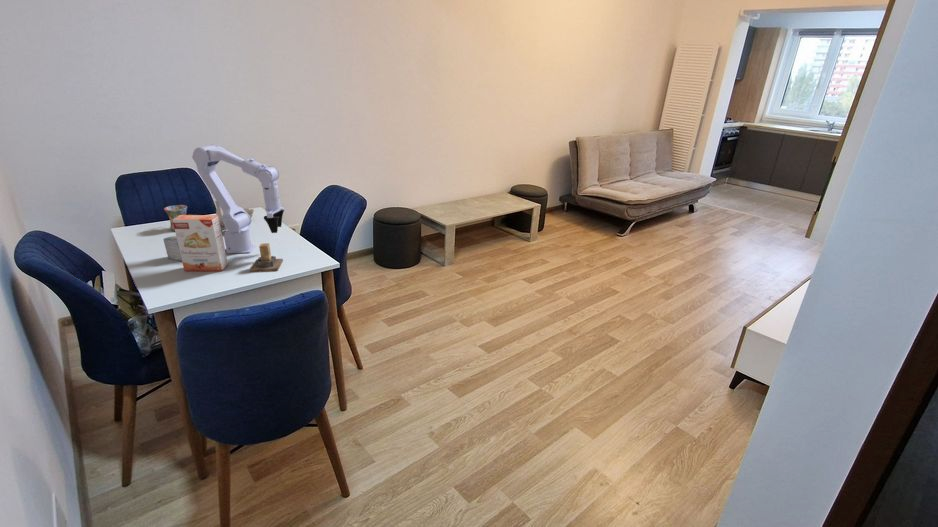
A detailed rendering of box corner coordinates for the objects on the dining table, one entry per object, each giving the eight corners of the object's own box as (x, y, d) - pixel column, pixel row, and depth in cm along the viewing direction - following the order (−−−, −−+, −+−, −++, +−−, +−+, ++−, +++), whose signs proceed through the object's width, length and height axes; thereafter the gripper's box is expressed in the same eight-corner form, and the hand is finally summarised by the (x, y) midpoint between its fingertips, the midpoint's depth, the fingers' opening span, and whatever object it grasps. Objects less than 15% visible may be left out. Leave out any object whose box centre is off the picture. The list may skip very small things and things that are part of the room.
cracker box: (183, 271, 170) (170, 218, 162) (191, 265, 175) (179, 214, 167) (222, 271, 171) (211, 219, 163) (228, 265, 176) (218, 214, 168)
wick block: (262, 265, 175) (259, 246, 172) (264, 262, 177) (260, 243, 174) (270, 265, 175) (267, 246, 172) (272, 262, 178) (269, 243, 175)
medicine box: (192, 257, 183) (187, 237, 179) (182, 261, 179) (177, 241, 175) (177, 254, 185) (172, 235, 181) (167, 258, 181) (162, 238, 178)
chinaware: (245, 238, 210) (243, 203, 204) (205, 236, 205) (202, 201, 199) (255, 220, 235) (254, 189, 229) (220, 218, 230) (218, 186, 224)
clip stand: (250, 271, 171) (248, 264, 170) (256, 261, 180) (255, 254, 179) (277, 270, 173) (276, 263, 172) (283, 260, 182) (282, 254, 181)
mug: (194, 229, 214) (189, 208, 210) (172, 233, 208) (166, 211, 203) (187, 223, 221) (182, 202, 217) (165, 227, 215) (160, 206, 211)
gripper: (278, 202, 174) (283, 235, 180) (285, 193, 188) (290, 223, 193) (259, 202, 173) (264, 235, 179) (268, 193, 186) (272, 224, 192)
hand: (276, 229), depth 186 cm, fingers open, 7 cm apart
